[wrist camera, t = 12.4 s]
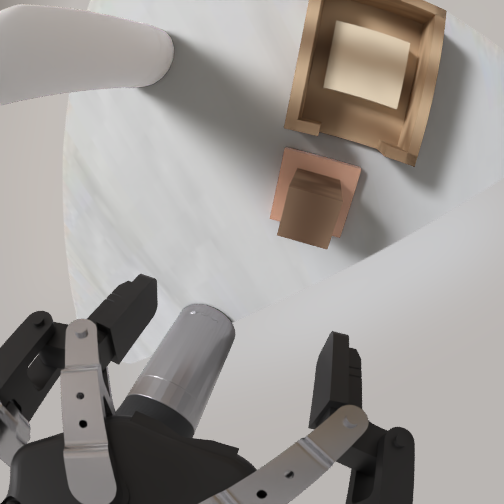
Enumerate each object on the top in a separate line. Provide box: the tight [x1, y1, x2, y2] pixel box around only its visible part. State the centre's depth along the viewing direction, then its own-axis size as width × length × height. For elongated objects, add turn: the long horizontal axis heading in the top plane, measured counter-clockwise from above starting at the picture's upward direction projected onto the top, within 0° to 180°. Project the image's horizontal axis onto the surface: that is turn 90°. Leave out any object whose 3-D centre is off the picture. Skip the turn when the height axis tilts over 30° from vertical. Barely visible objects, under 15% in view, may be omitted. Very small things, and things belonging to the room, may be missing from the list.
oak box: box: [284, 0, 446, 167], centre depth 21 cm, size 16×12×5 cm
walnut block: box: [277, 168, 343, 249], centre depth 27 cm, size 4×4×7 cm
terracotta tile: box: [270, 147, 361, 238], centre depth 31 cm, size 8×8×1 cm
